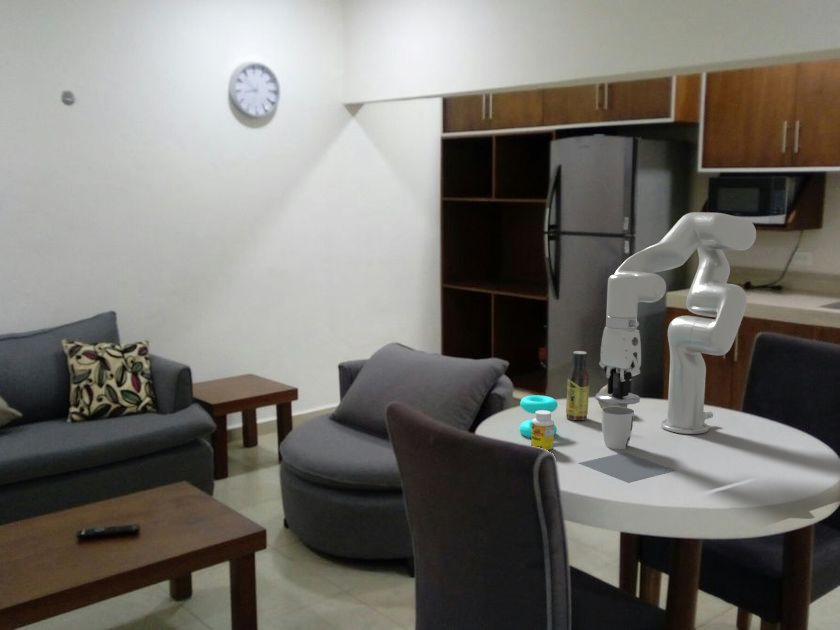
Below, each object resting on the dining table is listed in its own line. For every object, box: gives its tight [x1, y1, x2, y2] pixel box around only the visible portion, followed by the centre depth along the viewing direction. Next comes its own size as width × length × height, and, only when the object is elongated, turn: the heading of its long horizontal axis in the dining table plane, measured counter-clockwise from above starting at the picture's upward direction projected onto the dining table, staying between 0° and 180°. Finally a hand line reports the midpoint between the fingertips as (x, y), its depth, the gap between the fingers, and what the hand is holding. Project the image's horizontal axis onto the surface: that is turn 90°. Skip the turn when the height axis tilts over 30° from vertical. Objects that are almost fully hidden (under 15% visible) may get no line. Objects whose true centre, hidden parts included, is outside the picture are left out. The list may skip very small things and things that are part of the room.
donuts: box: [519, 394, 558, 438], centre depth 222 cm, size 10×10×10 cm
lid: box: [595, 371, 641, 405], centre depth 209 cm, size 11×11×7 cm
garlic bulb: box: [597, 383, 629, 409], centre depth 245 cm, size 9×8×10 cm
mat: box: [578, 452, 677, 484], centre depth 195 cm, size 16×16×1 cm
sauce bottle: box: [565, 350, 590, 422], centre depth 237 cm, size 6×6×20 cm
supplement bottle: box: [530, 410, 555, 453], centre depth 208 cm, size 6×6×10 cm
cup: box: [600, 407, 635, 450], centre depth 211 cm, size 8×8×10 cm
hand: (617, 394), depth 209 cm, fingers closed on lid, 2 cm apart
